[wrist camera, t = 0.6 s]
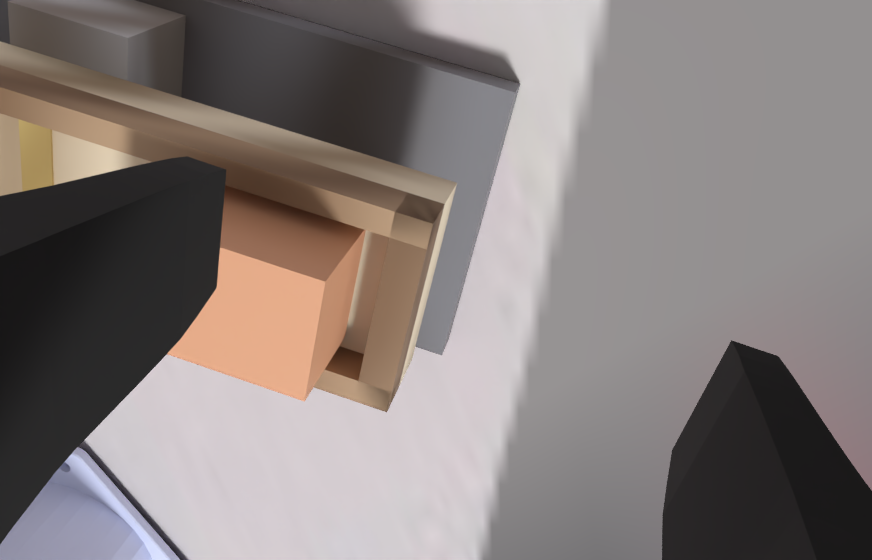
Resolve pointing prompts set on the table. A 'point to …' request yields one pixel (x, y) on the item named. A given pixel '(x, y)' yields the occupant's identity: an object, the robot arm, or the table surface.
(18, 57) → the balance beam
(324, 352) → the block
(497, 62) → the table surface
